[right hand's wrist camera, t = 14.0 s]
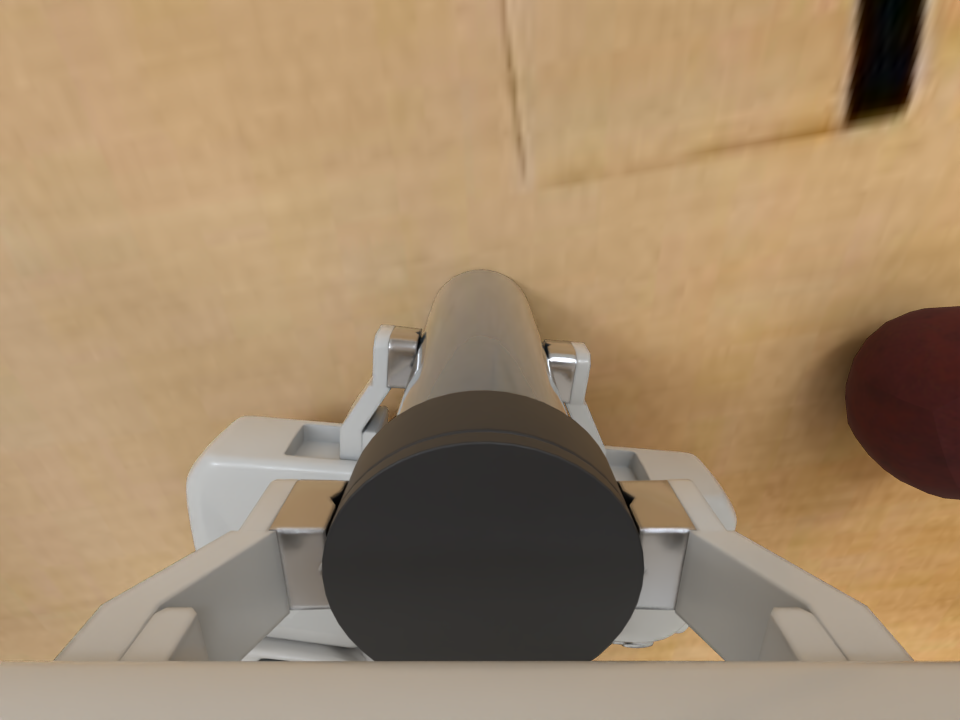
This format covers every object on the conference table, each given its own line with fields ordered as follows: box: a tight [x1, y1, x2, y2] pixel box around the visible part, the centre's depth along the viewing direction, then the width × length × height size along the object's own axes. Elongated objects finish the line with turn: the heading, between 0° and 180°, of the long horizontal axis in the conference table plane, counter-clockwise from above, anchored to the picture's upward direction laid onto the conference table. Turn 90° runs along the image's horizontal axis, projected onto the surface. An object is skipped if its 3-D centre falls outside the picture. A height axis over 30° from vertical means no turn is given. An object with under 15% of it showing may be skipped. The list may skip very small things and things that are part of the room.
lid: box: [322, 390, 644, 661], centre depth 10 cm, size 5×5×2 cm
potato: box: [845, 306, 960, 500], centre depth 20 cm, size 7×8×7 cm
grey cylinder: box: [396, 270, 568, 416], centre depth 16 cm, size 4×4×15 cm
